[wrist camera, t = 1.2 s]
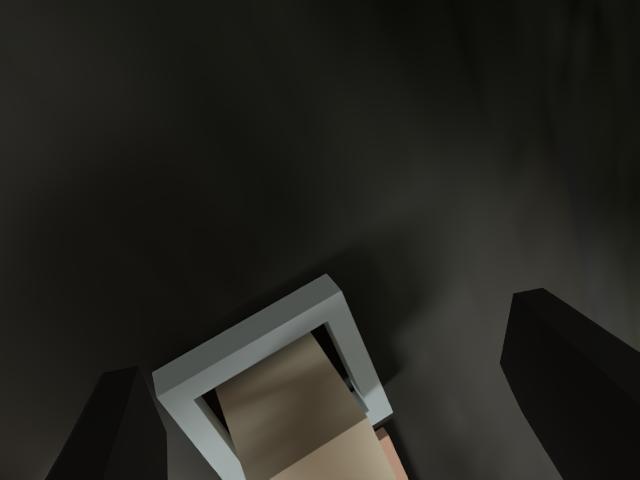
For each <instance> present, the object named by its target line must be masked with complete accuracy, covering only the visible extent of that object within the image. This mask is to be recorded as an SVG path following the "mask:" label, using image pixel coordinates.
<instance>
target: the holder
mask: <svg viewBox="0 0 640 480" xmlns="http://www.w3.org/2000/svg"><path fill="white" fill-rule="evenodd" d="M323 323H324V325H325V327H326V329H327V331H328V334H329V336H330V338H331V340H332V342H333V344H334V346H335V348H336V351H337V353H338V355H339V357H340V359H341V361H342V363H343V365H344V368H345V370H346V372H347V374H348V376H349V378H350V380H351V382H352V385H353V387H354V389H355V391H353V392H351V393H352V395H353V396H354V398H355V399H356V401H357V402H358V404H359V405H360V407H361V408H362V410H363V411H364V413H365V414H366V416H367V417H368V419H369V421H370V423H371V425H374V424H376V423H377V422H379V421H380V420H382V419H383V418H385V417H387V416H388V415H390V414H391V413H393V411H392V409H391V407H390V404H389V402H388V400H387V397H386V395H385V393H384V390H383V388H382V385H381V383H380V381H379V378H378V376H377V374H376V371H375V369H374V367H373V364H372V362H371V359H370V357H369V355H368V352H367V350H366V348H365V345H364V343H363V341H362V338H361V336H360V334H359V331H358V329H357V326H356V324H355V322H354V319H353V317H352V315H351V312H350V310H349V308H348V305H347V303H346V300H345V298H344V296H343V293H342V291H341V290H340V288H339V287H338V286H337V285H336V284H335V283H334V282H333V280H332V279H331V278H330V277H329V276H328V275H327V273H326V274H324V275H322V276H321V277H319V278H317V279H315V280H314V281H312V282H310V283H308V284H307V285H305V286H303V287H301V288H300V289H298V290H296V291H294V292H293V293H291V294H289V295H287V296H286V297H284V298H282V299H280V300H279V301H277V302H275V303H273V304H271V305H270V306H268V307H266V308H264V309H263V310H261V311H259V312H257V313H256V314H254V315H252V316H250V317H249V318H247V319H245V320H243V321H242V322H240V323H238V324H236V325H235V326H233V327H231V328H229V329H228V330H226V331H224V332H222V333H221V334H219V335H217V336H215V337H214V338H212V339H210V340H208V341H207V342H205V343H203V344H201V345H199V346H198V347H196V348H194V349H192V350H191V351H189V352H187V353H185V354H184V355H182V356H180V357H178V358H177V359H175V360H173V361H171V362H170V363H168V364H166V365H164V366H163V367H161V368H159V369H157V370H156V371H154V372H152V376H153V381H154V386H155V391H156V397H157V399H158V400H159V401H160V402H161V403H162V405H163V406H164V407H165V408H166V410H167V411H168V412H169V413H170V415H171V416H172V417H173V418H174V420H175V421H176V422H177V423H178V425H179V426H180V427H181V428H182V430H183V431H184V432H185V433H186V435H187V436H188V437H189V438H190V440H191V441H192V442H193V443H194V445H195V446H196V447H197V448H198V450H199V451H200V452H201V453H202V455H203V456H204V457H205V458H206V460H207V461H208V462H209V463H210V465H211V466H212V467H213V468H214V470H215V471H216V472H217V473H218V475H219V476H220V477H221V478H222V479H223V480H246V478H245V476H244V473H243V470H242V467H241V464H240V461H239V458H238V455H237V452H236V449H235V446H234V443H233V440H232V437H231V436H230V435H229V433H228V432H227V430H226V429H225V428H224V426H223V425H222V424H221V422H220V421H219V419H218V418H217V417H216V415H215V414H214V413H213V411H212V410H211V408H210V407H209V406H208V404H207V403H206V402H205V400H204V399H203V397H202V396H201V395H202V394H204V393H206V392H208V391H209V390H211V389H213V388H214V387H216V386H218V385H219V384H221V383H223V382H225V381H226V380H228V379H230V378H231V377H233V376H235V375H237V374H238V373H240V372H242V371H243V370H245V369H247V368H248V367H250V366H252V365H254V364H255V363H257V362H259V361H260V360H262V359H264V358H265V357H267V356H269V355H271V354H272V353H274V352H276V351H277V350H279V349H281V348H282V347H284V346H286V345H288V344H289V343H291V342H293V341H294V340H296V339H298V338H300V337H301V336H303V335H305V334H306V333H308V332H310V331H311V330H313V329H315V328H317V327H318V326H320V325H322V324H323Z"/></svg>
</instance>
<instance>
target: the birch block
mask: <svg viewBox="0 0 640 480" xmlns="http://www.w3.org/2000/svg"><path fill="white" fill-rule="evenodd" d="M215 390H216V393H217V396H218V399H219V402H220V405H221V408H222V411H223V414H224V417H225V420H226V423H227V426H228V428H229V431H230V434H231V437H232V440H233V443H234V446H235V449H236V452H237V455H238V458H239V461H240V464H241V467H242V470H243V473H244V476H245V478H246V480H397V479H396V476H395V474H394V472H393V470H392V468H391V466H390V464H389V462H388V459H387V457H386V455H385V453H384V451H383V449H382V447H381V445H380V442H379V440H378V438H377V436H376V434H375V432H374V430H373V428H372V425H371V423H370V421H369V419H368V417H367V416H366V414H365V413H364V411H363V410H362V408H361V407H360V405H359V404H358V402H357V401H356V399H355V398H354V396H353V395H352V393H351V392H350V390H349V389H348V387H347V386H346V384H345V383H344V381H343V380H342V378H341V377H340V375H339V374H338V372H337V371H336V369H335V368H334V366H333V365H332V363H331V362H330V360H329V359H328V357H327V356H326V354H325V353H324V351H323V350H322V348H321V347H320V345H319V344H318V342H317V341H316V339H315V338H314V337H313V335H312V334H311V332H308V333H306V334H305V335H303V336H301V337H300V338H298V339H296V340H294V341H293V342H291V343H289V344H288V345H286V346H284V347H282V348H281V349H279V350H277V351H276V352H274V353H272V354H271V355H269V356H267V357H265V358H264V359H262V360H260V361H259V362H257V363H255V364H254V365H252V366H250V367H248V368H247V369H245V370H243V371H242V372H240V373H238V374H237V375H235V376H233V377H231V378H230V379H228V380H226V381H225V382H223V383H221V384H219V385H218V386H216V387H215Z"/></svg>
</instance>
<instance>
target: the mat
mask: <svg viewBox="0 0 640 480" xmlns="http://www.w3.org/2000/svg"><path fill="white" fill-rule="evenodd" d="M375 434H376V436H377V438H378V440H379V442H380V445H381V447H382V449H383V451H384V453H385V455H386V457H387V459H388V462H389V464H390V466H391V468H392V470H393V472H394V474H395V476H396V479H397V480H408V477H407V475H406V473H405V471H404V469H403V466H402V464H401V462H400V460H399V457H398V455H397V453H396V451H395V448H394V446H393V444H392V442H391V440H390V437H389V435H388V434H387V432H386V431H385V429H384V428H383V427H382V428H380V429H379V430H377V431H376V432H375Z"/></svg>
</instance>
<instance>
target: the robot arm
mask: <svg viewBox="0 0 640 480" xmlns="http://www.w3.org/2000/svg"><path fill="white" fill-rule="evenodd" d="M500 365H501V367H502V369H503V372H504V374H505V376H506V379H507V381H508V383H509V385H510V388H511V390H512V392H513V394H514V396H515V398H516V400H517V403H518V405H519V407H520V409H521V411H522V413H523V414H524V416H525V418H526V419H527V421H528V423H529V424H530V426H531V428H532V429H533V431H534V433H535V434H536V436H537V438H538V439H539V441H540V443H541V444H542V446H543V447H544V449H545V451H546V452H547V454H548V456H549V457H550V459H551V460H552V462H553V464H554V465H555V467H556V469H557V470H558V472H559V473H560V475H561V477H562V478H563V480H640V352H638V351H637V350H635V349H634V348H632V347H630V346H629V345H627V344H626V343H624V342H623V341H621V340H620V339H618V338H617V337H615V336H614V335H612V334H611V333H609V332H608V331H606V330H605V329H603V328H602V327H601V326H599V325H598V324H596V323H595V322H593V321H592V320H590V319H589V318H587V317H586V316H584V315H583V314H581V313H580V312H578V311H577V310H575V309H574V308H572V307H571V306H570V305H568V304H567V303H565V302H564V301H562V300H561V299H559V298H558V297H556V296H555V295H553V294H551V293H550V292H548V291H547V290H545V289H544V288H539V289H534V290H529V291H524V292H519V293H514V294H513V298H512V303H511V309H510V314H509V319H508V324H507V329H506V334H505V339H504V345H503V350H502V355H501V360H500ZM45 480H168V477H167V433H166V430H165V428H164V426H163V423H162V421H161V419H160V416H159V414H158V412H157V409H156V407H155V405H154V402H153V400H152V397H151V395H150V393H149V390H148V388H147V386H146V383H145V381H144V379H143V376H142V374H141V372H140V369H139V367H138V366H136V367H131V368H126V369H120V370H115V371H110V372H105V373H103V374H102V376H101V377H100V378H99V380H98V382H97V384H96V386H95V388H94V390H93V392H92V394H91V396H90V398H89V400H88V402H87V403H86V405H85V407H84V409H83V411H82V413H81V415H80V417H79V419H78V421H77V423H76V425H75V427H74V428H73V430H72V432H71V434H70V436H69V438H68V439H67V441H66V443H65V445H64V447H63V449H62V451H61V452H60V454H59V456H58V458H57V459H56V461H55V463H54V465H53V466H52V468H51V470H50V472H49V473H48V475H47V477H46V479H45Z"/></svg>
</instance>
